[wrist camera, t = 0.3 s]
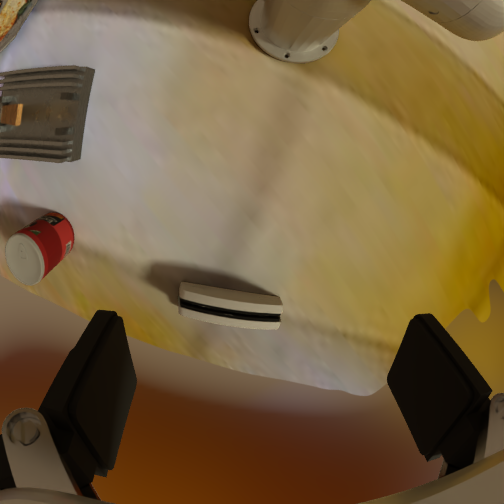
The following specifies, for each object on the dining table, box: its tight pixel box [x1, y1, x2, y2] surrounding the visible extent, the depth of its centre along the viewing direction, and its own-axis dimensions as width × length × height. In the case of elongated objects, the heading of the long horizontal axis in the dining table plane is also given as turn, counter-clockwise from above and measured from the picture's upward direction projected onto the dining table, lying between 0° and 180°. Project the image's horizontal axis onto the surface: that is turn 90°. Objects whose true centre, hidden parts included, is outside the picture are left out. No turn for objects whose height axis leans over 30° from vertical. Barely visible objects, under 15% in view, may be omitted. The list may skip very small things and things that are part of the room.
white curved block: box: [178, 281, 283, 329], centre depth 46 cm, size 17×5×10 cm, turn 78°
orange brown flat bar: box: [1, 104, 23, 126], centre depth 29 cm, size 3×12×1 cm
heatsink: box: [0, 66, 95, 163], centre depth 33 cm, size 14×17×6 cm
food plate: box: [0, 0, 38, 52], centre depth 23 cm, size 25×23×4 cm
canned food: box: [5, 213, 74, 285], centre depth 39 cm, size 8×8×11 cm
